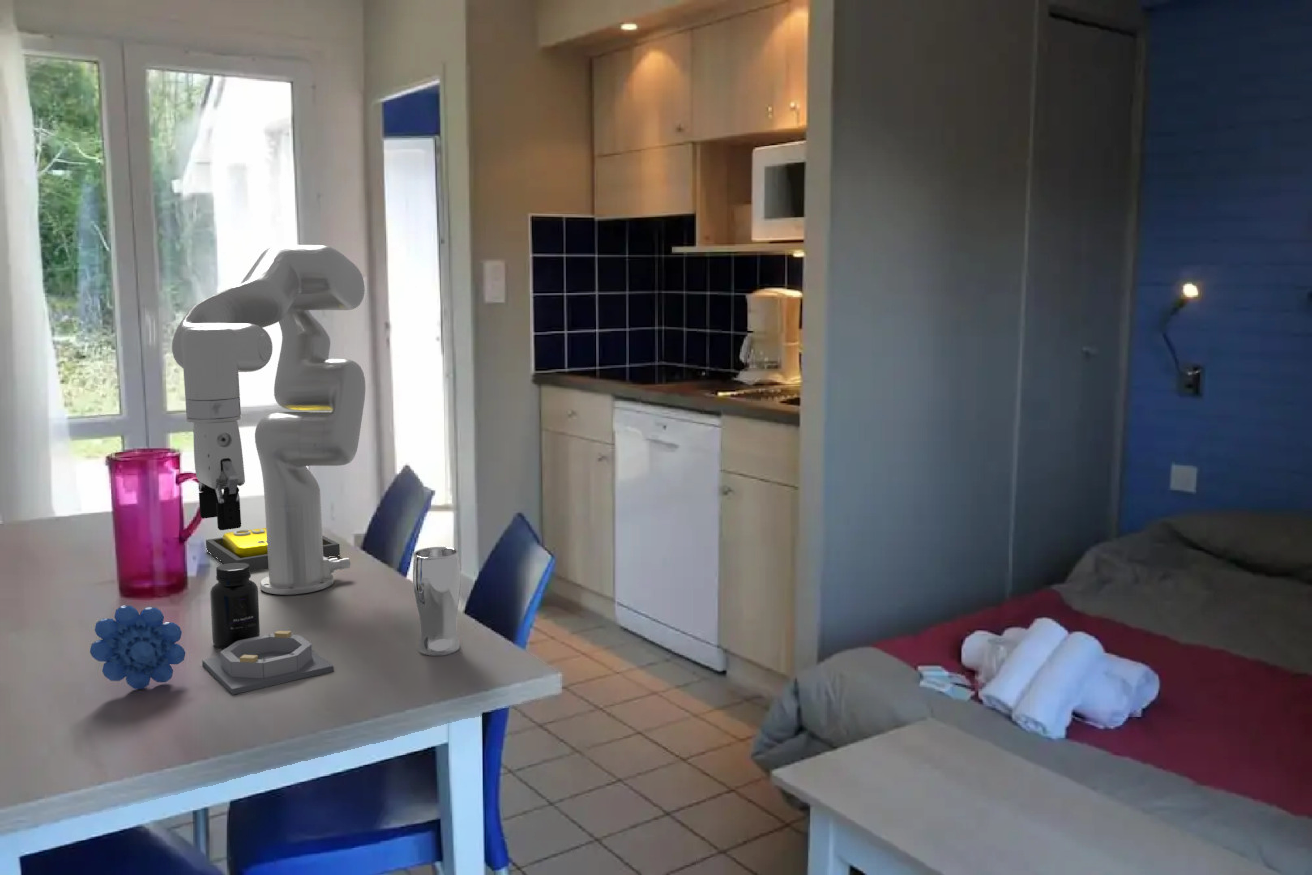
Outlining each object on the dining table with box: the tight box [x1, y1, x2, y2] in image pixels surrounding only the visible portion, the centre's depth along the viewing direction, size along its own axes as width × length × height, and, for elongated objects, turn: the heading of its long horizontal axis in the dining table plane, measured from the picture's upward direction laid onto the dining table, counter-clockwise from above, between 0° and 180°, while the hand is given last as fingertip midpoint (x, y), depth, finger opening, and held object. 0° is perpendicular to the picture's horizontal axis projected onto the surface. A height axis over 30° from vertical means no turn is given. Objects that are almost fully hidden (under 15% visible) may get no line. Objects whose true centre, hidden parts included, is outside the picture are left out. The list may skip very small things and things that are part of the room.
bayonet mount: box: [201, 630, 335, 696], centre depth 154 cm, size 14×14×4 cm
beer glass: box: [412, 546, 462, 657], centre depth 161 cm, size 7×7×15 cm
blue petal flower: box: [89, 604, 186, 690], centre depth 145 cm, size 12×7×12 cm, turn 125°
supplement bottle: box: [209, 563, 261, 649], centre depth 164 cm, size 7×7×12 cm
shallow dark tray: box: [205, 534, 341, 572], centre depth 216 cm, size 20×20×2 cm
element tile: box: [222, 527, 268, 558], centre depth 216 cm, size 15×15×5 cm
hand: (220, 522), depth 162 cm, fingers open, 9 cm apart
